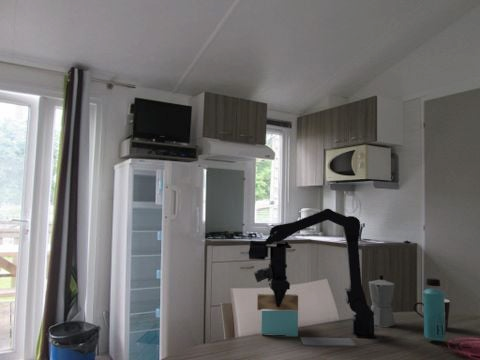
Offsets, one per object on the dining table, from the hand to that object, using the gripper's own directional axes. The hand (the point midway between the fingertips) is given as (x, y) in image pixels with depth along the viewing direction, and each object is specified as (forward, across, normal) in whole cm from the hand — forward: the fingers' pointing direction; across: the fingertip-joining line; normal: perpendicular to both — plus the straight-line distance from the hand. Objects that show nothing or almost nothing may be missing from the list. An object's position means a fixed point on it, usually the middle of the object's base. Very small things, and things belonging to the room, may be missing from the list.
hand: (277, 306), depth 139 cm
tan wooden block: (+1, 0, 0) cm, 1 cm away
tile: (+8, +7, 0) cm, 11 cm away
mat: (+8, +14, +14) cm, 22 cm away
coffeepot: (+8, -11, +40) cm, 43 cm away
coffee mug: (+8, -7, +57) cm, 58 cm away
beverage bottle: (+8, +11, +49) cm, 51 cm away
